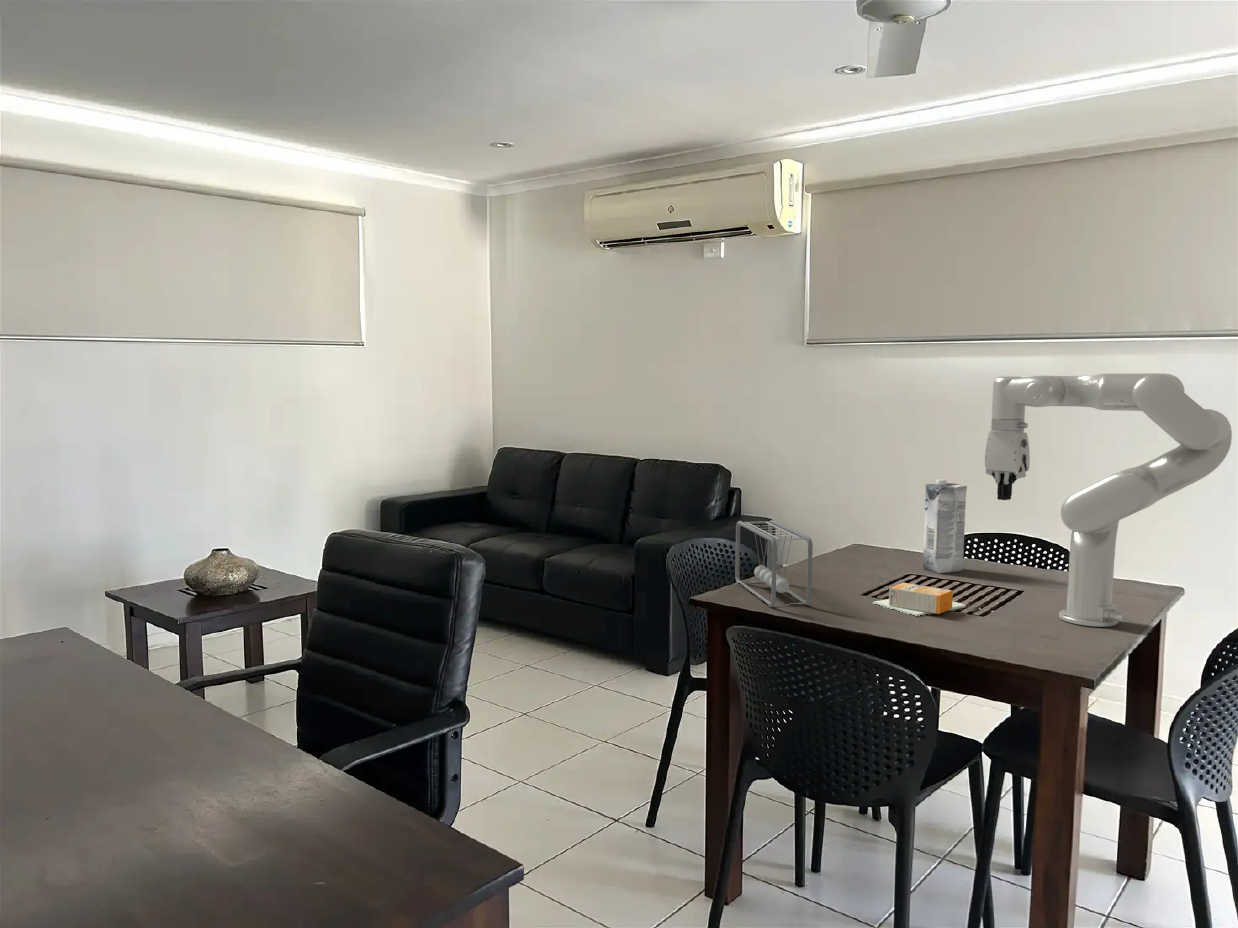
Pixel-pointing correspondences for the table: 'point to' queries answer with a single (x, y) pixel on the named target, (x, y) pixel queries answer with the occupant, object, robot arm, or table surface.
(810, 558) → the newton's cradle
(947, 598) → the supplement box
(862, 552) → the table surface
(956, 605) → the mat
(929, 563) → the juice carton
